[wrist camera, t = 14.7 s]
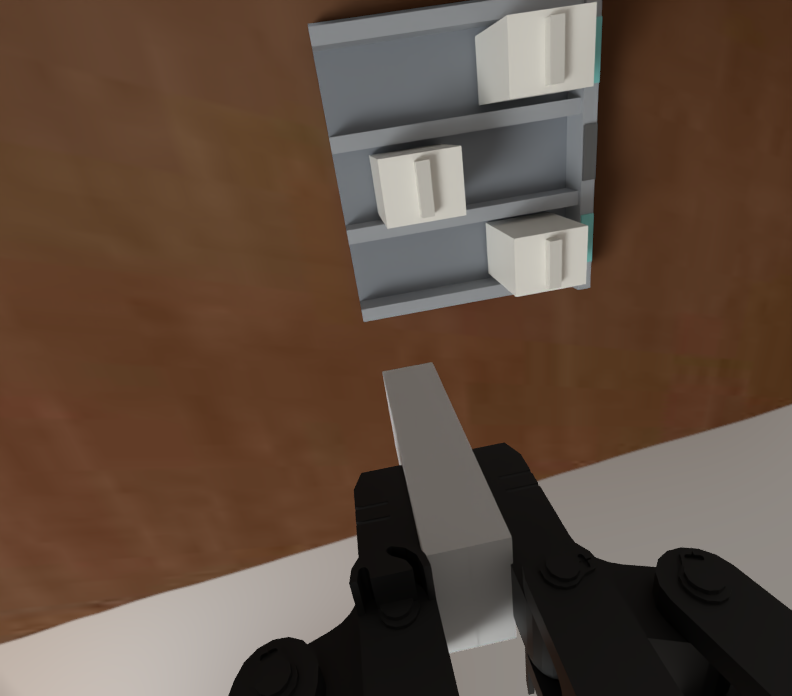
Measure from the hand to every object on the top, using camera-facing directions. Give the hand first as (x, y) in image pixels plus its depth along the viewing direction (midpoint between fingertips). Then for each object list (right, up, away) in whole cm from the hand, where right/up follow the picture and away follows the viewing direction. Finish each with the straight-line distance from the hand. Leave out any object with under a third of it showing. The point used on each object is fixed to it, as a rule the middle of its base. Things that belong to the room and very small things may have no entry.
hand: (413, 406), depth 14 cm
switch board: (+4, +15, +21) cm, 26 cm away
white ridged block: (0, +14, +19) cm, 24 cm away
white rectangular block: (+7, +21, +17) cm, 28 cm away
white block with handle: (+9, +10, +22) cm, 26 cm away
